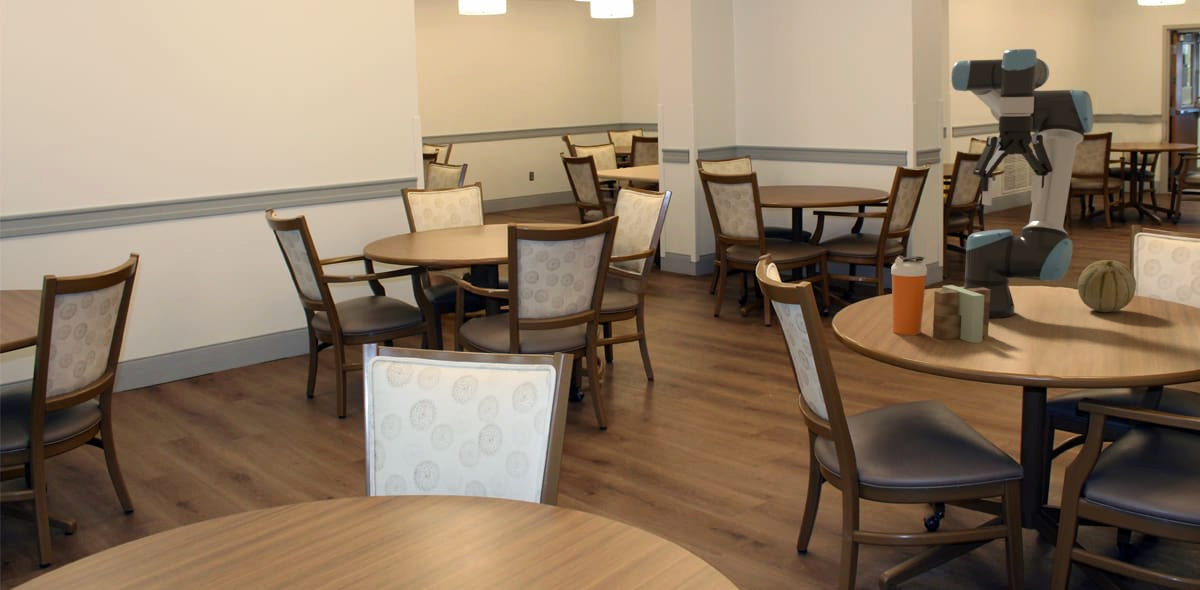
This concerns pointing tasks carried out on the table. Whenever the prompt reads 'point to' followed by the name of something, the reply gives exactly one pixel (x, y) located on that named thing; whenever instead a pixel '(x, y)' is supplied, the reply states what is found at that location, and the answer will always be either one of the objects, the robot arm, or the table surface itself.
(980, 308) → the slot plate
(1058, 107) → the robot arm
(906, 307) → the shaker bottle
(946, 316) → the brown wooden slotted board
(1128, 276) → the cantaloupe
